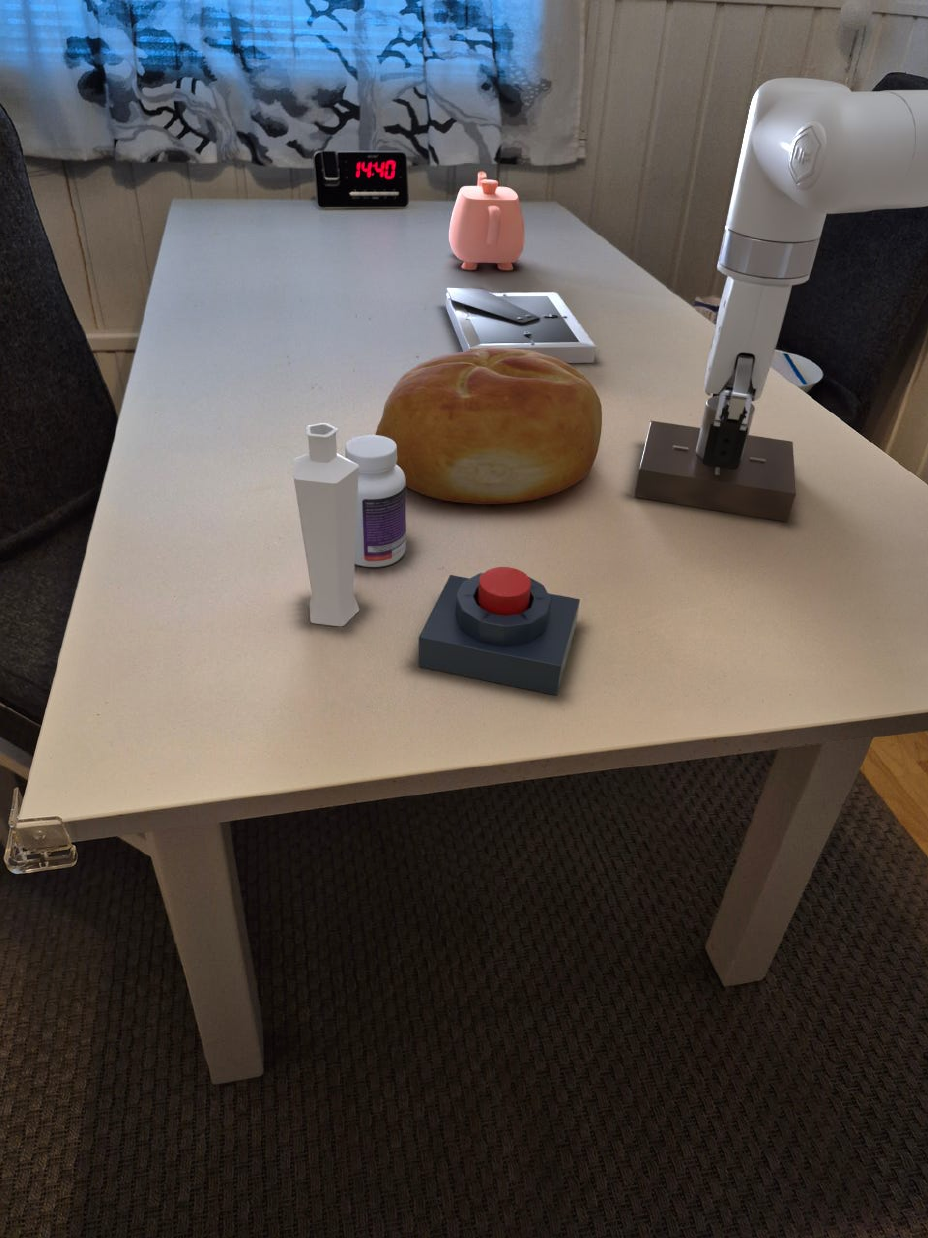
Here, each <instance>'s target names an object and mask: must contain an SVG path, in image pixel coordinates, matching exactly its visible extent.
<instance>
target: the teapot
mask: <svg viewBox="0 0 928 1238" xmlns="http://www.w3.org/2000/svg"><path fill="white" fill-rule="evenodd" d="M525 239H526V238H525V222H524V216H523V211H522V206H521V202H520V198H519V196H518V194H517V192H516V191H515V190H514V189H512V188H511V187H507V186H499V181H498V180H496V179H495V180H494V179H488V177H487V173H486V172H485V171H482V170H481V171H479V172H478V173H477V185H464V186H462V187H461V188H460V189H459V192H458V194H457V196H456V200H455V204H454V207H453V210H452V214H451V218H450V223H449V231H448V241H449V244H450V245H449V246H450V247H451V250H452V252H453V255H455V257H456V258H457V259H458V260H460V261H462V262H463V263H462V265H461V269H463V270H467V271H473V270H477V268H478V263H487V264H489V263H490V264H491V263H492V264H493V263H495V264H497V268H498V269H499V270H501V271H512V270H513V269H514V267H513V263H516V262H518V261H519V259H520V257H521V256H522V253H523V251H524V247H525Z"/></svg>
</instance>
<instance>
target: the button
mask: <svg viewBox="0 0 928 1238" xmlns="http://www.w3.org/2000/svg"><path fill="white" fill-rule="evenodd" d="M482 573H483V574H482V575H481V576H480V579H479V592H478V602H479V604H480V606H481V607H482V608H483V609H484V610H486V611H487V612H489V613H492V614H497V615H503V616H506V615H514V614H520V613H522V612H523V611H525V610H526V609H527V607H528V605H529V599H530V589H531V581H530V579H529V577H530V576H528V574H527V573H525V572H523V571H522V570H520V569H518V568H514V567H509V566H497V567H496V566H495V567H491V568H489V569H486V570H485V571H484V572H482Z"/></svg>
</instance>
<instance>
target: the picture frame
mask: <svg viewBox="0 0 928 1238" xmlns="http://www.w3.org/2000/svg"><path fill="white" fill-rule="evenodd" d="M446 291H447V293H446V295H445V297H446V299H445V309H446V312H447V314H448V316H449V319H450V321H451V325H452V327H453V329H454V331H455V334H456V336H457V339H458V341H459V344H460V347H461V349H462V352H464V351H469V350H473V349H479V348H485V347H491V348H512V349H522V350H529V351H535V352H538V353H541V354H544V355H547V356H551V357H554V358H557V359H559V360H562V361H564V362H565V363H567V364H594V363H595V357H596V349H597V346H596V345H595V343H594V341H592V339H591V337H590V336H589V335H588V333H587V332H586V331H585V329H584V328H583V327H582V325H581V324H580V321H578V319H577V318H576V317H575V315H574V314H573V313H572V311H571V310H570V309H569V307H568V306H567V304H566V303H565V302H564V301H563V299H562V298H561V296H560V295H559V294H558V292H555V291H554V292H553V291H552V292H489V291H487V290H486V289H484V288H464V287H463V288H462V287H446Z"/></svg>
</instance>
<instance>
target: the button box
mask: <svg viewBox="0 0 928 1238" xmlns="http://www.w3.org/2000/svg"><path fill="white" fill-rule="evenodd" d="M483 573H484V572H479V573H476V574H475V575H473V576H472V577H464V576H458V575H453V574H450V575H449V577H448V578H447V581H446V583H445V585H444V586H443V589H442V590H441V592H440V594H439V596H438V598H437V601H436V602H435V604H434V606H433V608H432V610H431V612H430V614H429V616H428V618H427V620H426V622H425V625H423V628H422V630H421V632H420V634H419V635H418V667H419V668H424V669H429V670H432V671H433V670H434V671H439V672H443V673H448V674H454V675H457V676H462V677H467V678H468V677H469V678H472V679H477V680H481V681H486V682H491V683H496V684H501V685H506V686H511V687H515V688H520V689H525V690H529V691H534V692H539V693H544V694H549V695H553V696H557V695H558V693H559V689H560V685H561V683H562V678H563V675H564V672H565V668H566V664H567V662H568V661H567V660H568V657H569V654H570V650H571V647H572V642H573V640H574V636H575V633H576V629H577V621H578V615H579V610H580V609H579V608H580V601H581V599H580V598H576V597H570V596H565V595H559V594H554V593H549V592H548V591H547V588H546V587H545V585H544V584H542V583H540V582H539V581H537V580H535V579H534V578H532V577H530V576H528V577H529V579H530V581H531V589H530V599H529V605H528V607H527V609H526V610H525V611H523V612H522V613H520V614H514V615H506V616H503V615H497V614H492V613H489V612H487V611H486V610H484V609H483V608H482V607H481V606H480V604H479V602H478V592H479V579H480V576H481V575H482V574H483Z"/></svg>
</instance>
